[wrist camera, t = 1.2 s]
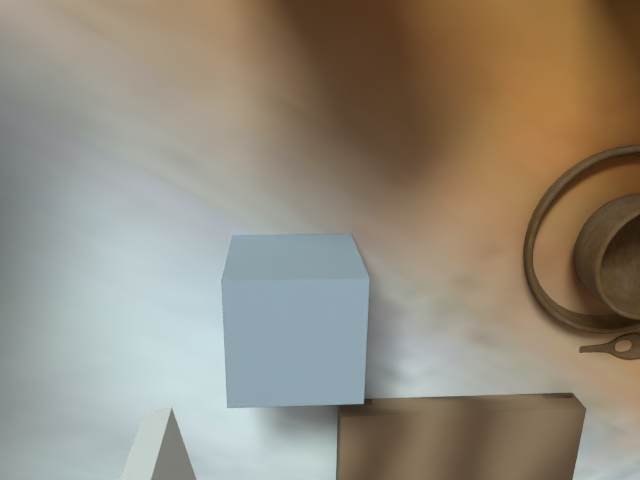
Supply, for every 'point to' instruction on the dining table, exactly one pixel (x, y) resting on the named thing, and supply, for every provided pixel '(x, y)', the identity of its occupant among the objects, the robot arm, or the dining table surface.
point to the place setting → (600, 261)
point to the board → (460, 438)
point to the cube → (294, 320)
